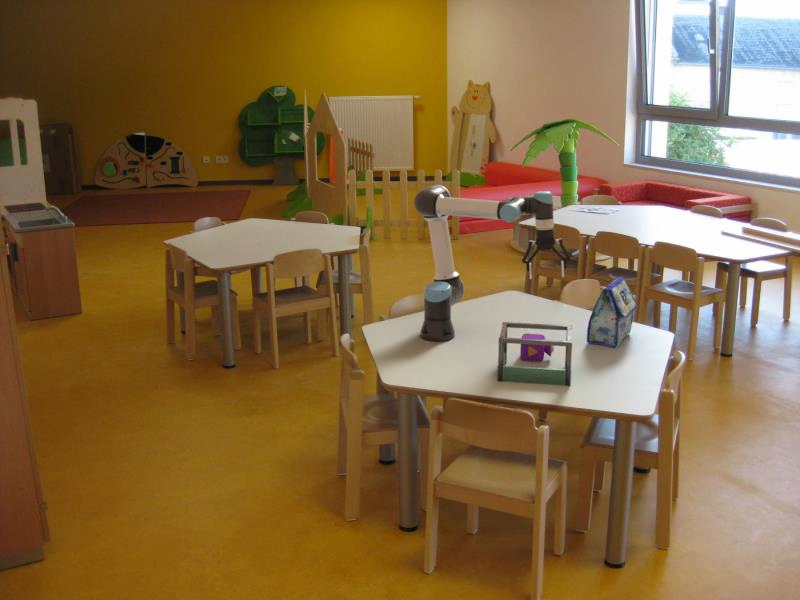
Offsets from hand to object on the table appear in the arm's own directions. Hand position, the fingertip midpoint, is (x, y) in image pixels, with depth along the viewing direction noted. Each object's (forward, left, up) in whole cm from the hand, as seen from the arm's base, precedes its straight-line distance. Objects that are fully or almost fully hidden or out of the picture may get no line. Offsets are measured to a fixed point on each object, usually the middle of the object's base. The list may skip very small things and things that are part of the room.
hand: (546, 277), depth 365 cm
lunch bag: (+28, +5, -28) cm, 40 cm away
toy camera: (-3, -24, -28) cm, 37 cm away
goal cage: (-3, -41, -28) cm, 50 cm away
